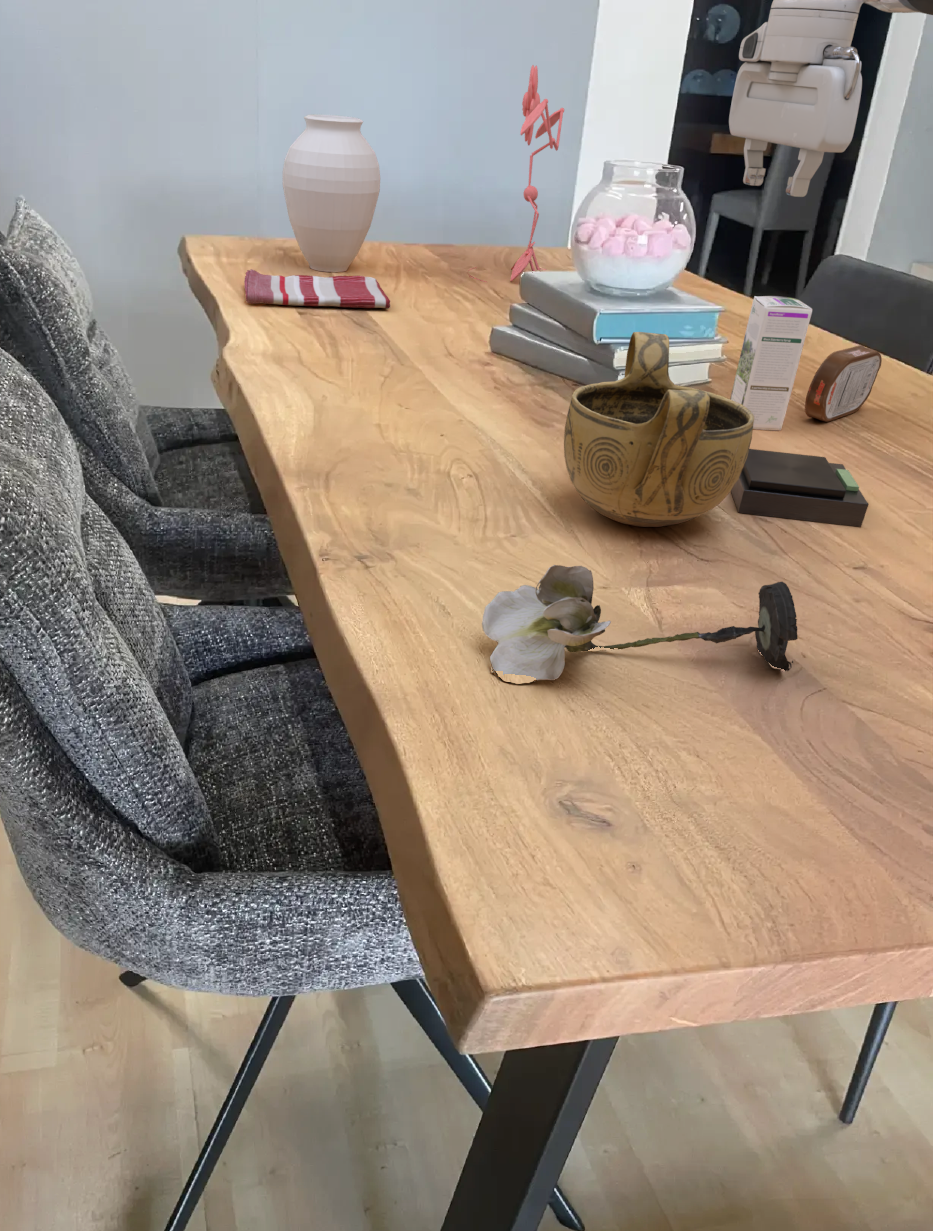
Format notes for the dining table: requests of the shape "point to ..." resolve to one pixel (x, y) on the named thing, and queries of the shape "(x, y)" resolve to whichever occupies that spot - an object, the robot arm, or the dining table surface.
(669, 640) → the artificial flower
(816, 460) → the scale
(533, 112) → the figurine
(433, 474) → the dining table surface
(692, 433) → the ceramic bowl
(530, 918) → the dining table surface
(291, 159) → the vase
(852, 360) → the tin
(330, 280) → the dish towel
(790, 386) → the syrup box
